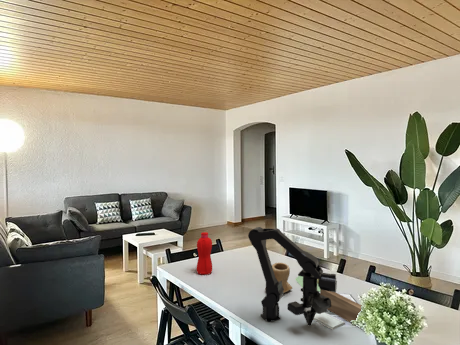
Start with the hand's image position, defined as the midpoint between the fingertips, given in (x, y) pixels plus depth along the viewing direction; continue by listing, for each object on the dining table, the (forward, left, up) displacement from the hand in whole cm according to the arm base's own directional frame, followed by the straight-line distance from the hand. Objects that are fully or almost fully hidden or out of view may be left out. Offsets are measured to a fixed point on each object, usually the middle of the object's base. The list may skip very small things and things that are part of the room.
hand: (309, 325), depth 124 cm
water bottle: (-15, +79, -1) cm, 80 cm away
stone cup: (+10, +34, -1) cm, 35 cm away
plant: (+34, +36, -1) cm, 49 cm away
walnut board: (+19, 0, 0) cm, 19 cm away
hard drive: (+10, 0, -1) cm, 10 cm away
